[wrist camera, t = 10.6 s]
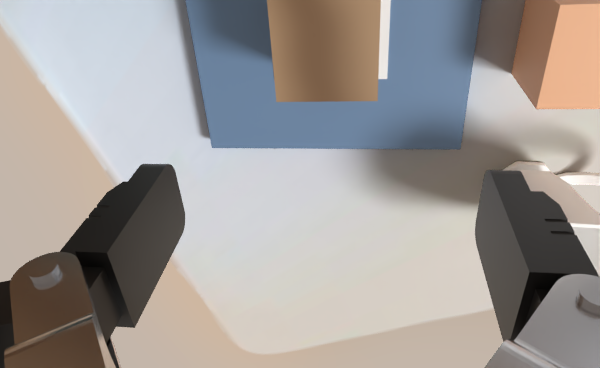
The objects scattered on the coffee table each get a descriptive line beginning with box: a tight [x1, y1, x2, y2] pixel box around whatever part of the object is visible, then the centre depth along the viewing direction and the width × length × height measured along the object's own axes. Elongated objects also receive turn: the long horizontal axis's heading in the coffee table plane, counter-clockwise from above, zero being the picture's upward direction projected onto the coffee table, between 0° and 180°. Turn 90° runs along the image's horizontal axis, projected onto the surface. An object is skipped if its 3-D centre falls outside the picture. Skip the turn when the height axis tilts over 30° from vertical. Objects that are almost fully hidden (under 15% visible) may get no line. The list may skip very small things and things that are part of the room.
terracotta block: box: [511, 0, 600, 109], centre depth 24 cm, size 5×5×5 cm
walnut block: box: [267, 0, 381, 102], centre depth 24 cm, size 5×5×5 cm
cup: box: [503, 161, 600, 277], centre depth 28 cm, size 7×10×8 cm
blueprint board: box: [185, 0, 482, 149], centre depth 27 cm, size 16×16×1 cm
